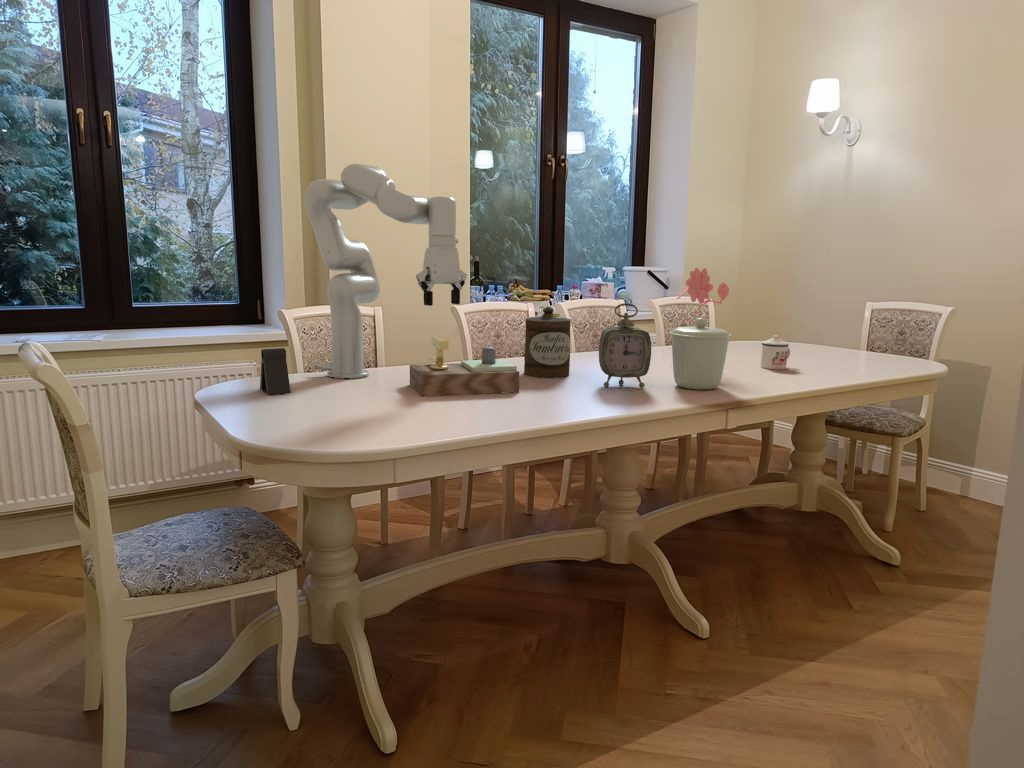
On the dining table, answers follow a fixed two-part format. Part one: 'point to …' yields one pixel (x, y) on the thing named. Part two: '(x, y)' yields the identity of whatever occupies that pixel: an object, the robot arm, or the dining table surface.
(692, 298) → the pink paper flower
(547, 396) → the dining table surface
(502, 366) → the lid
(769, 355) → the teacup with lid
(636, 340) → the tabletop clock
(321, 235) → the robot arm
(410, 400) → the dining table surface
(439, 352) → the t-shaped display stand
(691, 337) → the canister
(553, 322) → the wooden container
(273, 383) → the black folding stand
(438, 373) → the walnut case
